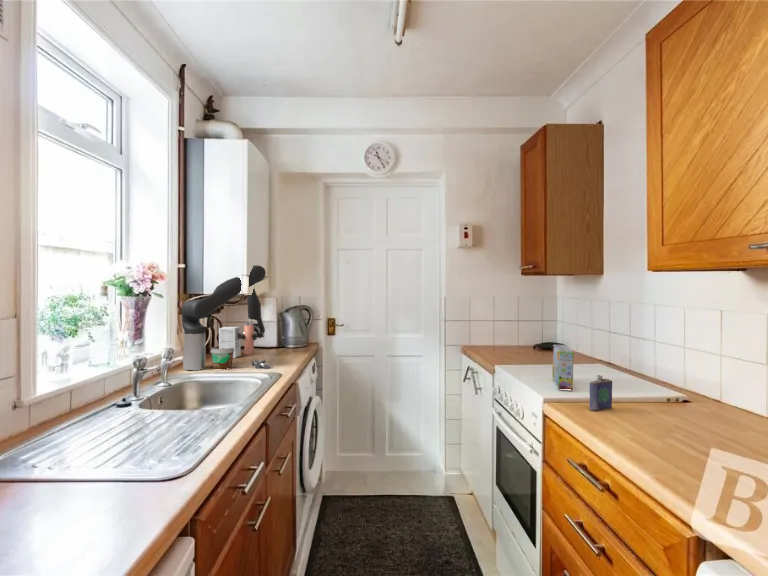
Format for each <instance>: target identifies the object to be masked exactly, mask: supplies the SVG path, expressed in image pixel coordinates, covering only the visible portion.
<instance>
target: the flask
mask: <svg viewBox="0 0 768 576" xmlns="http://www.w3.org/2000/svg"><path fill="white" fill-rule="evenodd" d="M596 377H597V379H596V380H593V381H589V410H590V411H591V412H599V411H605V410H610V409H613V405H612V403H613V402H612V401H613V380H611V379H608V378H603V376H602V375H600V374H598V375H596Z"/></svg>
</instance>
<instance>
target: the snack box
mask: <svg viewBox="0 0 768 576" xmlns="http://www.w3.org/2000/svg"><path fill="white" fill-rule="evenodd" d="M574 355H575V352H574V351H573V350H572V349H570V347H568V346H567V345H565V344H552V377H553V379H554V381H555V383H556V384H555V383H554V384H555V386H556V385H557V386H556V388H557V387H558V388H559V389H571V390H573V389H574V358H575V357H574ZM553 379H552V380H553ZM554 381H553V382H554ZM558 388H557V389H558Z"/></svg>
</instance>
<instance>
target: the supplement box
mask: <svg viewBox="0 0 768 576" xmlns="http://www.w3.org/2000/svg"><path fill="white" fill-rule="evenodd" d="M237 332H238V333H241V326H223V327H220V328H218V349H222V348H224V349H229V348H234V352H233V359H237V358H238V356H239V357H241V356H242V353H241V352H242V351H241V350H242V349H241V348H242V347H241V345H242V342H241V339H238V338H237ZM236 357H237V358H236Z"/></svg>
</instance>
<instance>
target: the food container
mask: <svg viewBox="0 0 768 576" xmlns="http://www.w3.org/2000/svg"><path fill="white" fill-rule="evenodd" d="M209 352H210V354H211V360H212V361H211V362H212V369H213V368H214V369H213V370H215V369H225V370H228V369H227V368H231V369H233V360H234V358H233V352H234V348H229V349H224V348H222V349H219V348H215V346H213V347H211V348H210V351H209Z"/></svg>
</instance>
